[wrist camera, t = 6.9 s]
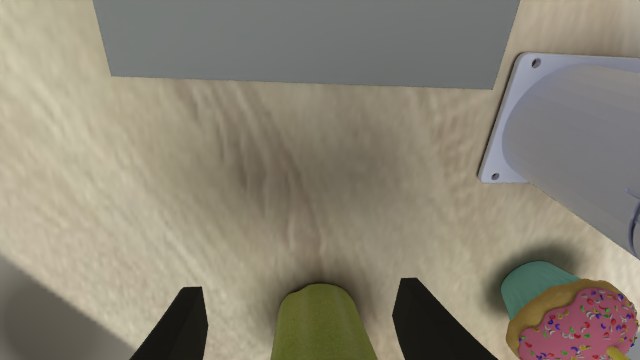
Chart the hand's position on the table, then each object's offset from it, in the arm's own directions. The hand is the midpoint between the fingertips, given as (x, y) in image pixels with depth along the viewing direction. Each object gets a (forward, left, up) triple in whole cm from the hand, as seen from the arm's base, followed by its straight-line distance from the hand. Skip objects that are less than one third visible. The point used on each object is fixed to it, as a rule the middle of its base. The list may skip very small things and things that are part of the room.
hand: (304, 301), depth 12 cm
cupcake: (-20, +10, -10) cm, 24 cm away
